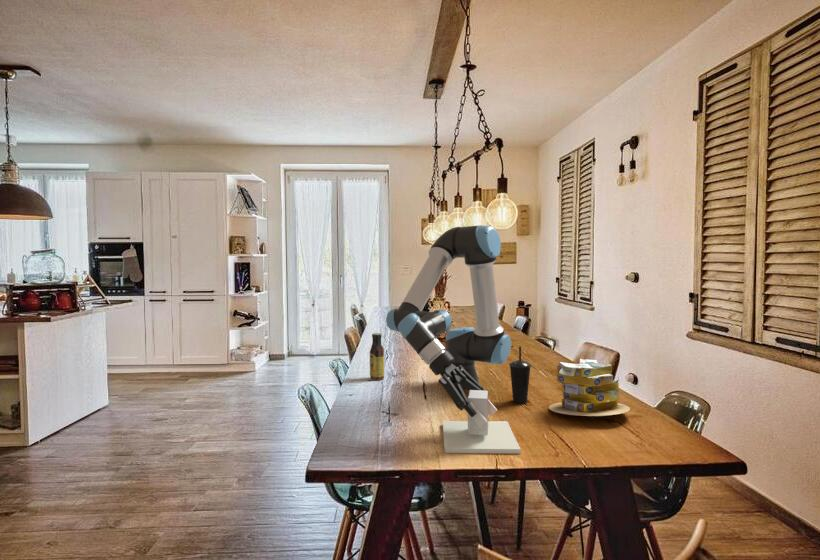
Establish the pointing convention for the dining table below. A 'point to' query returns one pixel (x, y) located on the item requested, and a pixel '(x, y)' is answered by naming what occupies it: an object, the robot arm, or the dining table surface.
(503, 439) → the white square board
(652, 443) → the dining table surface
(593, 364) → the stacked boxes on plate
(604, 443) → the dining table surface
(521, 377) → the drinking cup
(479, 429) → the small box
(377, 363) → the sauce bottle
